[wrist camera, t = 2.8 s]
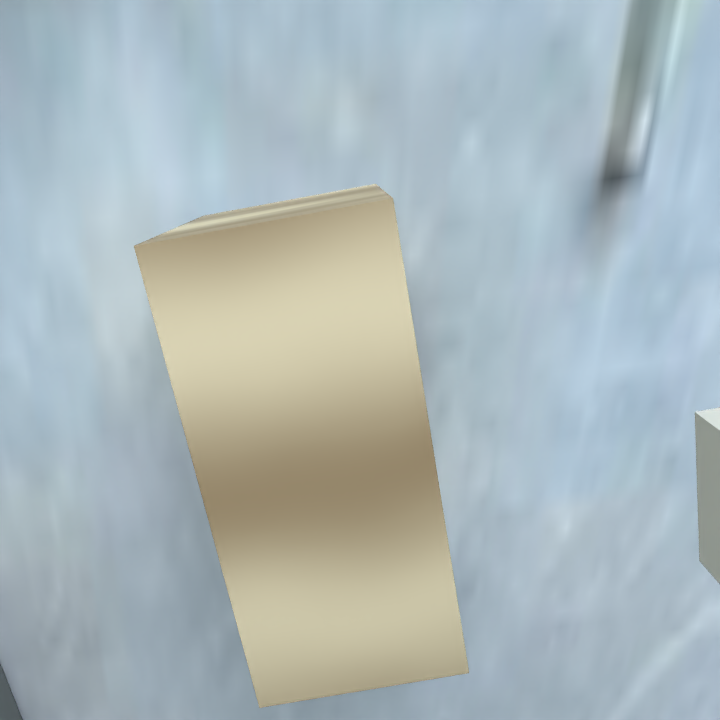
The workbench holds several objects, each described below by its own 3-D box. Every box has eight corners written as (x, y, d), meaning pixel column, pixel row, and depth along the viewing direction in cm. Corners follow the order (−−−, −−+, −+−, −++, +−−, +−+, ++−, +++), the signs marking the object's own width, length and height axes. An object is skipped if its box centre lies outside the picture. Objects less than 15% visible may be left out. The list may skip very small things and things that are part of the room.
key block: (431, 520, 23) (469, 673, 16) (283, 546, 23) (259, 707, 16) (375, 184, 20) (392, 198, 13) (204, 215, 20) (133, 245, 13)
